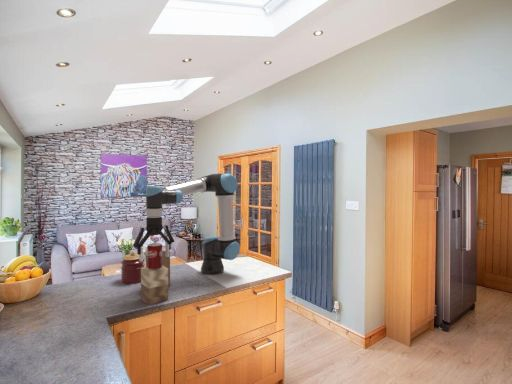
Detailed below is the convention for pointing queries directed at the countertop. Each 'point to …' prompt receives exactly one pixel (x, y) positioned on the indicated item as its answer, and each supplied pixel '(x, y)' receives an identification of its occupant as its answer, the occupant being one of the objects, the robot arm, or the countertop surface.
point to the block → (164, 263)
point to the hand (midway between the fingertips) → (154, 258)
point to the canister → (131, 269)
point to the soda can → (154, 256)
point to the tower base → (154, 294)
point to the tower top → (154, 277)
